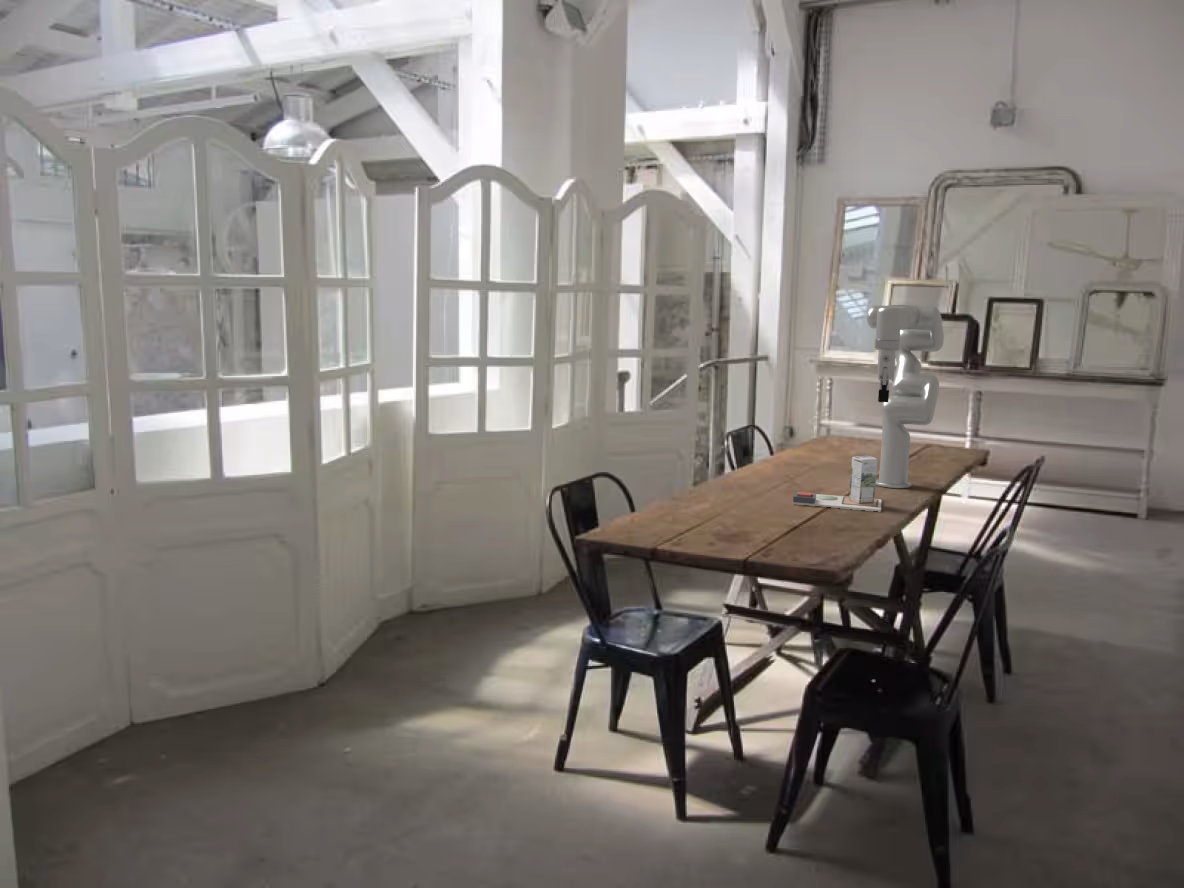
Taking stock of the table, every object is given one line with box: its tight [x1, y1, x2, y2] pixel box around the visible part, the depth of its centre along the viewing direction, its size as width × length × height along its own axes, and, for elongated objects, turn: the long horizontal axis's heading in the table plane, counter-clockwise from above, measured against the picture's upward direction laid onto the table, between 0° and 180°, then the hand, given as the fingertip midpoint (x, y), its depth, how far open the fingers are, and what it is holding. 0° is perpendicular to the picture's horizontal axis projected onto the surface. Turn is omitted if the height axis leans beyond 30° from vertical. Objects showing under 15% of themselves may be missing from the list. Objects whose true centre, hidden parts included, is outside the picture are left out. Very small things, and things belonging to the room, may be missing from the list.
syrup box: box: [848, 455, 878, 503], centre depth 312 cm, size 6×6×14 cm
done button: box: [797, 491, 813, 497], centre depth 313 cm, size 4×4×2 cm
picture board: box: [791, 492, 882, 513], centre depth 314 cm, size 16×27×3 cm, turn 73°
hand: (883, 401), depth 319 cm, fingers closed
